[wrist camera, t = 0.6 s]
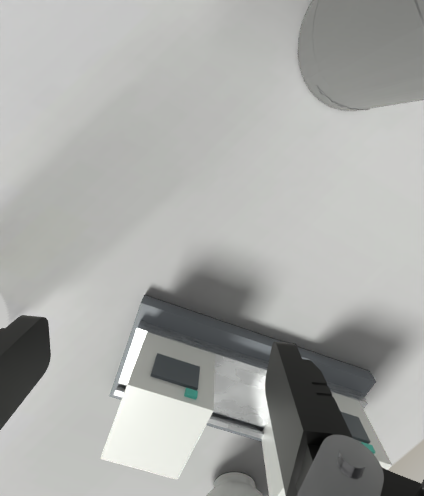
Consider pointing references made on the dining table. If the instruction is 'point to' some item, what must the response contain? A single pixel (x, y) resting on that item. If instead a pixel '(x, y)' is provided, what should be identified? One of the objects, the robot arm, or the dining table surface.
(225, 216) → the dining table surface
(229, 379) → the steel rail
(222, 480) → the teacup
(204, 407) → the mounted modules
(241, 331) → the rail board
